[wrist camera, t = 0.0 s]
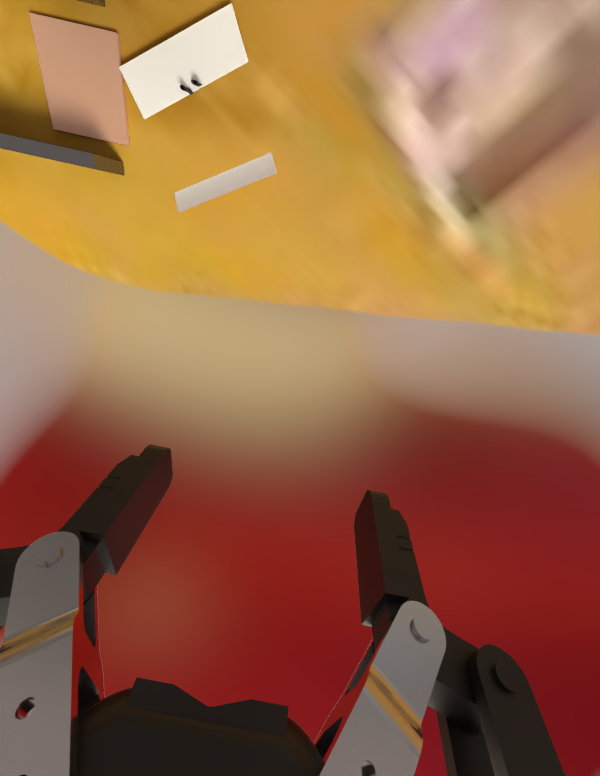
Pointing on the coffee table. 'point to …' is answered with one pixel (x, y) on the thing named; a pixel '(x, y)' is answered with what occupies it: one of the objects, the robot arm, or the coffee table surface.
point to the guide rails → (62, 152)
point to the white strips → (195, 89)
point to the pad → (82, 78)
